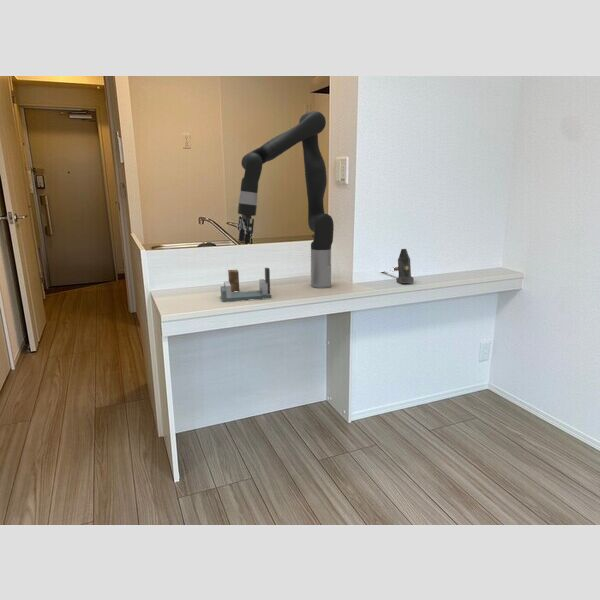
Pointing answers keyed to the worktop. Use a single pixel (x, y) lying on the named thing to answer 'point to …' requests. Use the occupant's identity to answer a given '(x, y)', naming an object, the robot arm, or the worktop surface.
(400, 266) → the dark tapered tower
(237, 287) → the block
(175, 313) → the worktop surface
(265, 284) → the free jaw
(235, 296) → the vise
